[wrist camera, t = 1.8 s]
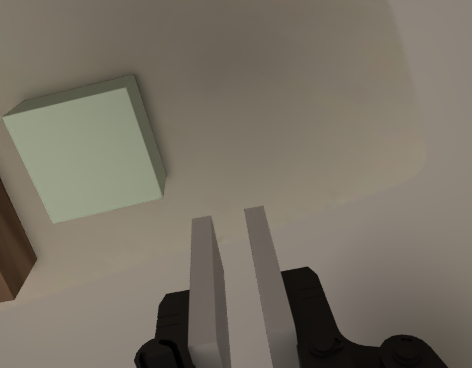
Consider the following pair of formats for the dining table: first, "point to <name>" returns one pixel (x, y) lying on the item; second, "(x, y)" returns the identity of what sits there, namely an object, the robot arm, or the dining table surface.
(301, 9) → the dining table surface
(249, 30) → the dining table surface
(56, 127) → the block
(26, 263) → the board
